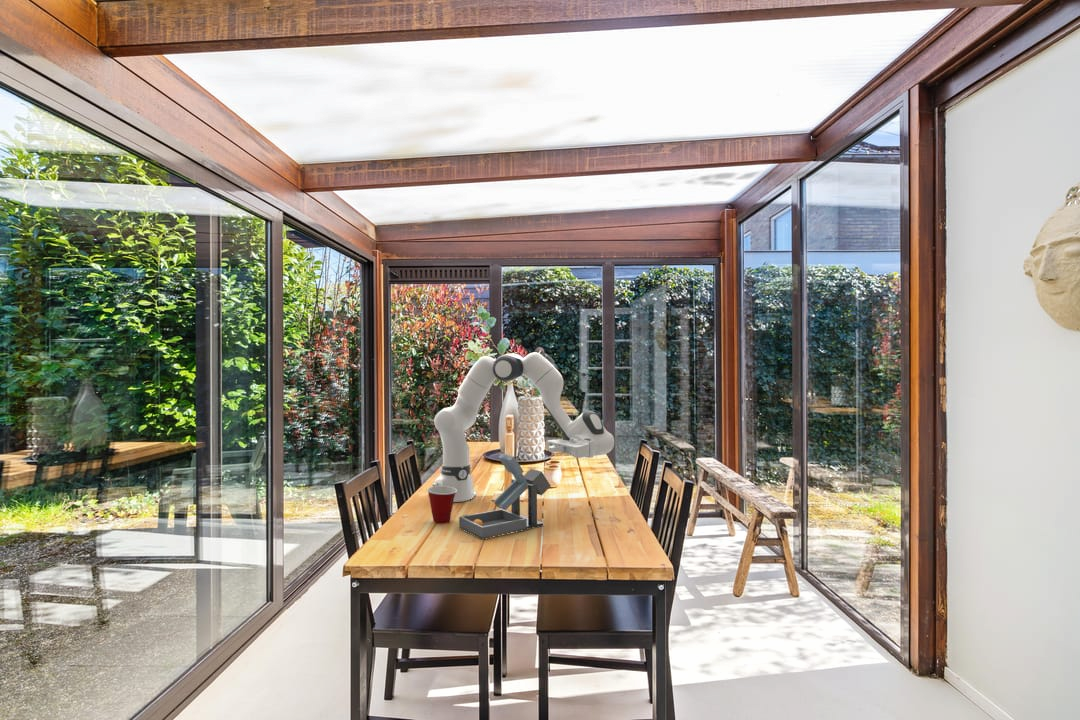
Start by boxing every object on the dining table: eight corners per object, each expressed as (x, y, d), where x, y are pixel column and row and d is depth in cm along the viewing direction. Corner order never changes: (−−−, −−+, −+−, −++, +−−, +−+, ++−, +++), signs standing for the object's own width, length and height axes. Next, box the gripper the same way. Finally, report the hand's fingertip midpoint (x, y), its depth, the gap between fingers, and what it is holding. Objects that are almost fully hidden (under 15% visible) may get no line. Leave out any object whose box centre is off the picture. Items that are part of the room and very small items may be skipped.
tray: (459, 528, 206) (459, 516, 205) (502, 519, 216) (502, 508, 216) (482, 539, 192) (482, 527, 192) (526, 530, 203) (526, 518, 203)
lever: (503, 518, 211) (475, 477, 205) (538, 482, 220) (513, 442, 214) (516, 523, 205) (487, 482, 198) (552, 486, 213) (526, 445, 207)
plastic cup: (451, 526, 207) (451, 492, 207) (422, 524, 210) (422, 491, 209) (461, 518, 218) (461, 485, 218) (433, 516, 220) (433, 484, 220)
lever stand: (505, 520, 215) (505, 479, 215) (521, 517, 219) (521, 477, 219) (526, 529, 204) (526, 486, 204) (543, 525, 208) (543, 484, 208)
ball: (471, 517, 201) (480, 518, 203) (469, 528, 201) (478, 528, 203) (476, 520, 198) (485, 520, 200) (474, 531, 198) (483, 531, 200)
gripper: (562, 434, 236) (534, 437, 228) (596, 441, 219) (566, 444, 211) (562, 450, 236) (534, 453, 228) (596, 458, 219) (566, 461, 211)
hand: (550, 449), depth 219 cm, fingers closed
